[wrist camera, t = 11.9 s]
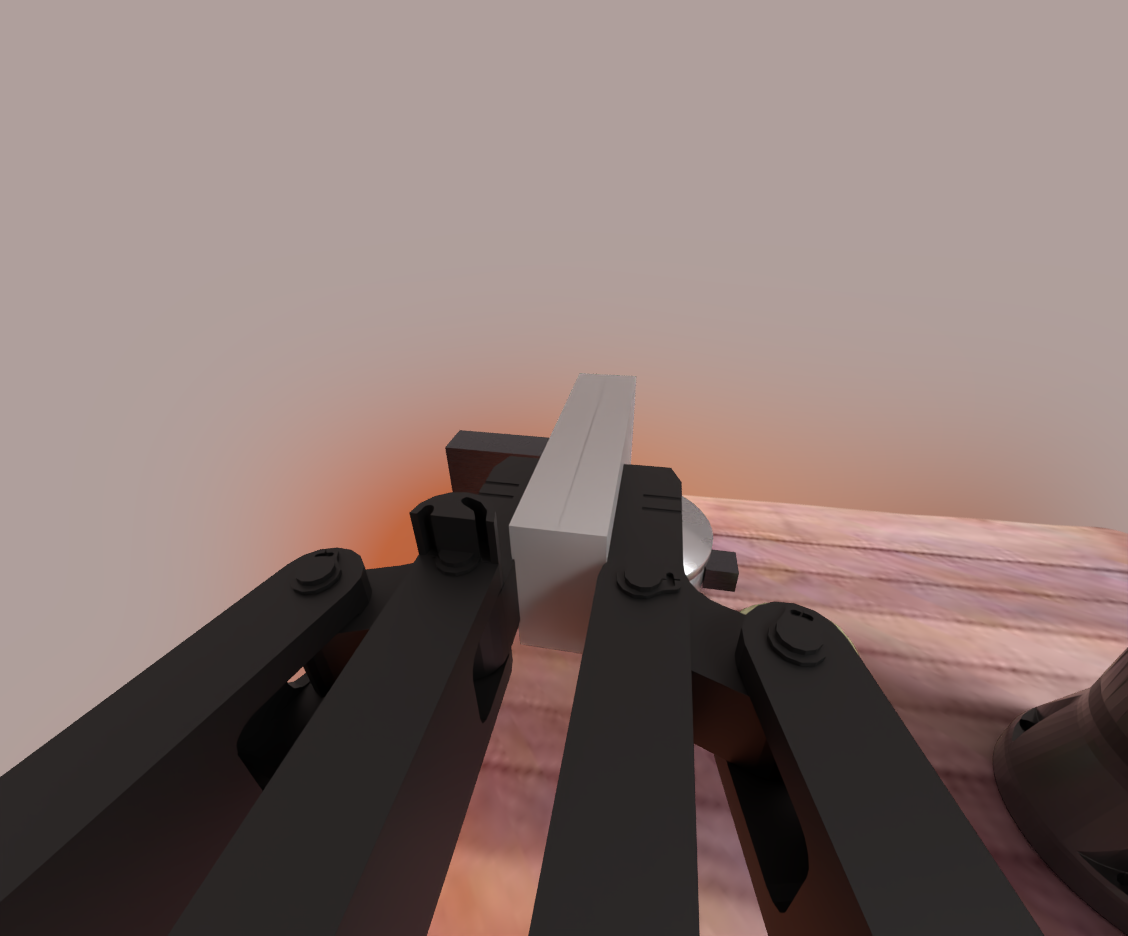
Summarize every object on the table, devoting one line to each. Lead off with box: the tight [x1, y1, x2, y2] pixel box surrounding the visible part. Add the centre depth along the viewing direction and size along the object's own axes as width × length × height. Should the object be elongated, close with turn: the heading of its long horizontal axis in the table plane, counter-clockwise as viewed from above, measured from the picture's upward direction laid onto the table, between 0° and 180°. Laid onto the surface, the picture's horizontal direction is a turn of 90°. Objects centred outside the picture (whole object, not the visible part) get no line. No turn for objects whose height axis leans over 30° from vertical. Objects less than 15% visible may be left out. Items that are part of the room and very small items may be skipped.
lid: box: [445, 430, 713, 581], centre depth 46 cm, size 25×16×9 cm, turn 78°
